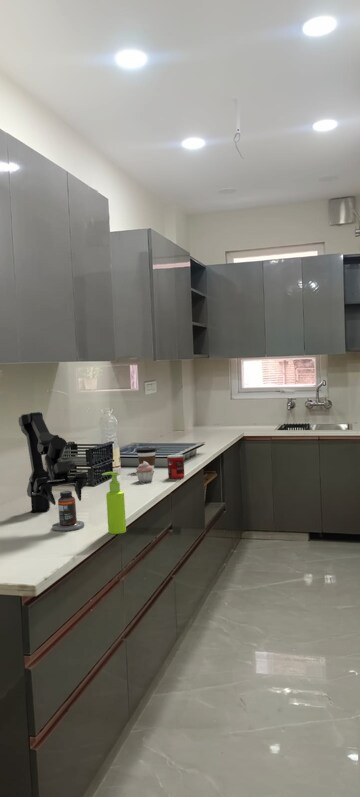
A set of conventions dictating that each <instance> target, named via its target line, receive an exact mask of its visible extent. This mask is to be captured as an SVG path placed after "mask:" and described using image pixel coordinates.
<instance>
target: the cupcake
mask: <svg viewBox="0 0 360 797" xmlns="http://www.w3.org/2000/svg"><path fill="white" fill-rule="evenodd" d="M134 473H135V475H136V476H137V480H138V482H139V483H150V482H152V481H153V477H154V473H155V470H152V467H151V466H150V465H149V464H148V463H147V462H145V461H143V464H138V467H137V468H136V471H134Z"/></svg>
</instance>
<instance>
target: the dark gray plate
mask: <svg viewBox="0 0 360 797" xmlns="http://www.w3.org/2000/svg"><path fill="white" fill-rule="evenodd" d="M51 527H52V531H54V532H61V533H63V532H64V533H65V532H73V531H77V530H81V529H83V528H84V527H85V522H84V521H82V520H77V522H76V523H75V524H73V525H65V526H63V525H60V522H57V523H56V522H55V523H53V524H52V525H51Z"/></svg>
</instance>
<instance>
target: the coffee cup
mask: <svg viewBox="0 0 360 797" xmlns="http://www.w3.org/2000/svg"><path fill="white" fill-rule="evenodd" d="M156 452H157V448H156V447H152V446H151V447H140V448H137V449H136V451H135V453H137V458H138V462H139V464H138V465H140V464H143V461H145V462H147V463H148V464H149V465H150V466H151V467H152V470H153V471H155V464H156V456H157V455H156Z"/></svg>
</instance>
